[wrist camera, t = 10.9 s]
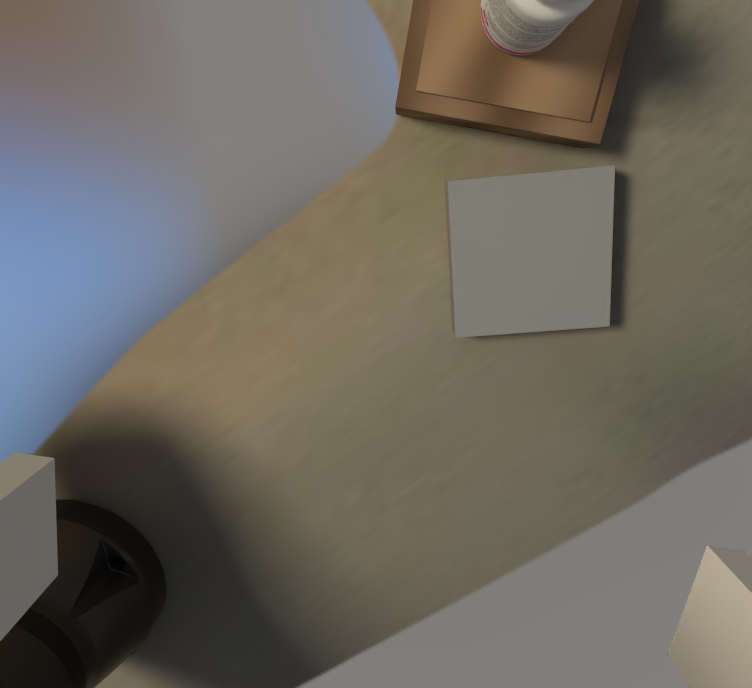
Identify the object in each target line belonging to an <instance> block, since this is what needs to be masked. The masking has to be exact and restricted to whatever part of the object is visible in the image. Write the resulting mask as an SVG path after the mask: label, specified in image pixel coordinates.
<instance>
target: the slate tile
mask: <svg viewBox="0 0 752 688" xmlns="http://www.w3.org/2000/svg"><path fill="white" fill-rule="evenodd" d="M614 181H615V165H613V166H603V167H592V168H582V169H571V170H561V171H550V172H540V173H529V174H519V175H508V176H498V177H487V178H477V179H466V180H456V181H447V182H445V191H446V210H447V229H448V248H449V268H450V287H451V306H452V326H453V332H454V335H455V338H460V337H473V336H487V335H500V334H514V333H527V332H541V331H554V330H568V329H581V328H595V327H608V326H610V301H611V271H612V241H613V211H614Z"/></svg>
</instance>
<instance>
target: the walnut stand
mask: <svg viewBox="0 0 752 688" xmlns="http://www.w3.org/2000/svg"><path fill="white" fill-rule="evenodd" d="M639 2H640V0H594V1H593V2H592V3H591V5H590V6H589V7H588V8H587V9H586V10H585V11H584V12H583V13H582V14H581V15H580V16H578V18H577V19H575V20H574V21H573V22H572V23H571V24H570V25H569V26H568V27H567V28H566V29H565V30H564V31H563V32H562V33H561V34H560V35H559V36H558V37H557V38H556V39H555V40H554V41H553V42H552V43H551V44H550V45H548V46H547V47H546V48H544V49H542V50H541V51H538V52H536V53H533V54H530V55H514V54H510V53H507V52H505V51H503V50H501V49H499V48H498V47H497V46H495V45H494V44H493V43H492V42H491V40H490V39H489V38H488V36H487V34H486V32H485V30H484V27H483V24H482V20H481V0H413V6H412V12H411V18H410V24H409V30H408V36H407V42H406V48H405V53H404V59H403V65H402V71H401V77H400V83H399V89H398V95H397V101H396V114H397V115H403V116H408V117H414V118H419V119H425V120H430V121H436V122H441V123H447V124H452V125H458V126H464V127H469V128H475V129H480V130H486V131H491V132H497V133H502V134H508V135H513V136H519V137H524V138H530V139H535V140H541V141H546V142H552V143H558V144H563V145H569V146H574V147H580V148H585V147H590V146H594V145H598V144H600V143H601V139H602V136H603V132H604V128H605V125H606V121H607V118H608V114H609V110H610V107H611V103H612V100H613V96H614V92H615V89H616V85H617V82H618V78H619V74H620V71H621V67H622V64H623V60H624V56H625V53H626V49H627V46H628V42H629V38H630V35H631V31H632V28H633V24H634V20H635V17H636V13H637V9H638V6H639Z"/></svg>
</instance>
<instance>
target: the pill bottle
mask: <svg viewBox="0 0 752 688" xmlns="http://www.w3.org/2000/svg"><path fill="white" fill-rule="evenodd" d="M593 1H594V0H481V20H482V24H483V27H484V30H485V32H486V34H487V36H488V38H489V39H490V40H491V42H492V43H493V44H494V45H495V46H497V47H498V48H499V49H501V50H503V51H505V52H507V53H510V54H514V55H530V54H533V53H536V52H538V51H541V50H542V49H544V48H546V47H547V46H548V45H550V44H551V43H552V42H553V41H554V40H555V39H556V38H557V37H558V36H559V35H560V34H561V33H562V32H563V31H564V30H565V29H566V28H567V27H568V26H569V25H570V24H571V23H572V22H573V21H574V20H575V19H577V18H578V16H580V15H581V14H582V13H583V12H584V11H585V10H586V9H587V8H588V7H589V6H590V5H591V3H592V2H593Z"/></svg>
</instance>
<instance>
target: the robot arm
mask: <svg viewBox="0 0 752 688" xmlns="http://www.w3.org/2000/svg"><path fill="white" fill-rule="evenodd" d="M164 597H165V582H164V577H163V572H162V569H161V566H160V564H159V561H158V559H157V557H156V555H155V554H154V552H153V550H152V549H151V547H150V546H149V545H148V543H147V542H146V541H145V540H144V539H143V537H142V536H141V535H140V534H139V533H138V532H137V531H136V530H135V529H133V528H132V527H131V526H130V525H129V524H127V523H126V522H124V521H123V520H121V519H120V518H118V517H117V516H115V515H113V514H111V513H109V512H107V511H105V510H103V509H101V508H98V507H95V506H92V505H89V504H85V503H81V502H76V501H68V500H56V490H55V458H51V457H44V456H36V455H29V454H21V453H14V454H13V455H11V456H10V457H9V458H7V459H6V460H4V461H3V462H1V463H0V688H94V687H96V686H97V685H98V684H99V683H100V682H101V681H102V680H104V679H105V678H106V677H107V676H108V675H109V674H110V673H111V672H113V671H114V670H115V669H116V668H117V667H118V666H119V665H120V664H121V663H122V662H123V661H124V660H126V659H127V658H128V657H129V656H130V655H132V654H133V653H134V652H135V651H136V650H137V649H138V648H139V647H140V645H141V644H142V643H143V642H144V640H145V639H146V637H147V636H148V634H149V632H150V631H151V629H152V627H153V625H154V624H155V622H156V620H157V618H158V617H159V615H160V612H161V610H162V607H163V603H164ZM668 655H669V657H670V658H671V660H672V661H673V663H674V664H675V666H676V668H677V669H678V671H679V673H680V674H681V676H682V677H683V679H684V680H685V682H686V684H687V686H688V687H689V688H752V557H751V556H750V555H749V554H748V553H747V552H746V551H744V550H739V549H731V548H724V547H716V546H709V545H707V548H706V551H705V553H704V556H703V559H702V562H701V564H700V567H699V570H698V573H697V575H696V578H695V581H694V584H693V586H692V589H691V592H690V595H689V597H688V600H687V603H686V606H685V608H684V611H683V614H682V616H681V619H680V622H679V625H678V627H677V630H676V633H675V636H674V639H673V642H672V644H671V647H670V650H669V652H668Z"/></svg>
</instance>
